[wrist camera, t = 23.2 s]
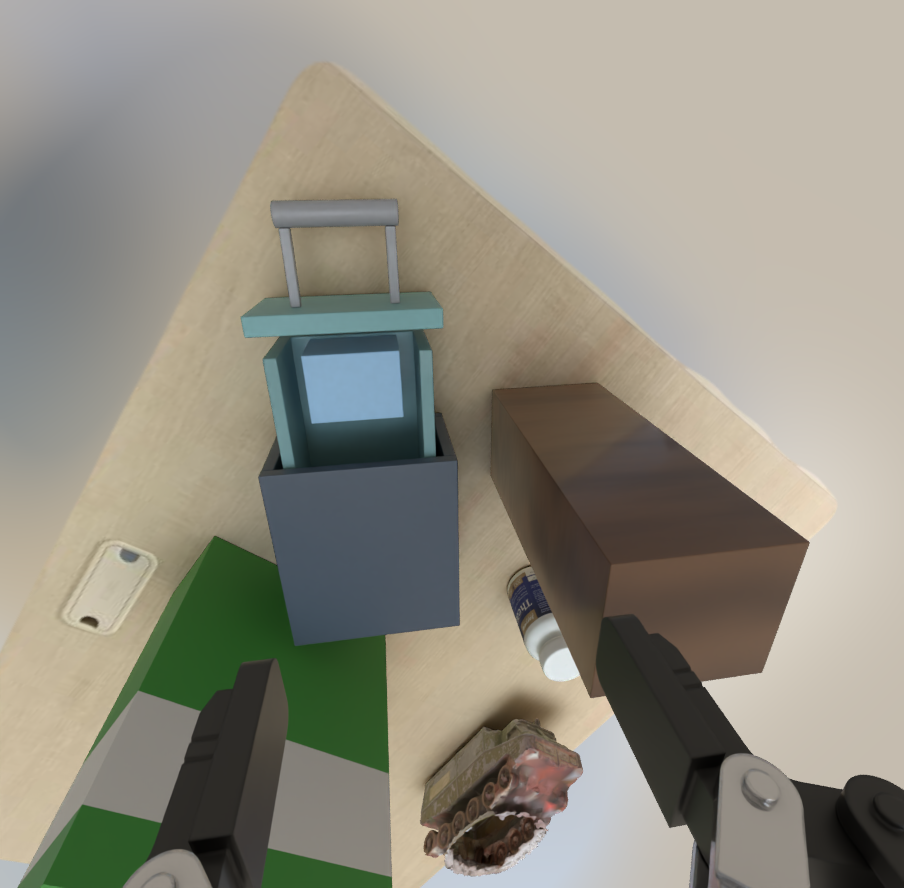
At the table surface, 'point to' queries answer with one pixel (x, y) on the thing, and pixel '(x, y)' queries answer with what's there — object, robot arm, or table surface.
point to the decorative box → (497, 797)
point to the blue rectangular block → (353, 378)
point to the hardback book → (173, 721)
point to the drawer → (339, 320)
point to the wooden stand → (638, 531)
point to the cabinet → (366, 544)
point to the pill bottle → (540, 627)
